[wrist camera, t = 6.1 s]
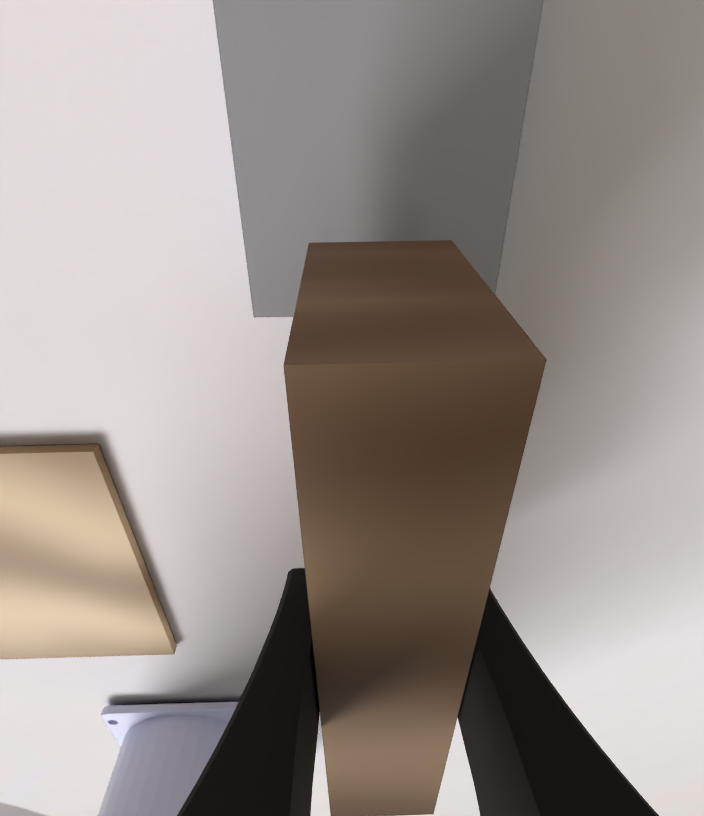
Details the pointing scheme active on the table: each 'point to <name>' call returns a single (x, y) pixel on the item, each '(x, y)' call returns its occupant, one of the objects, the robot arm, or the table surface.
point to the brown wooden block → (400, 498)
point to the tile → (372, 126)
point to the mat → (71, 561)
